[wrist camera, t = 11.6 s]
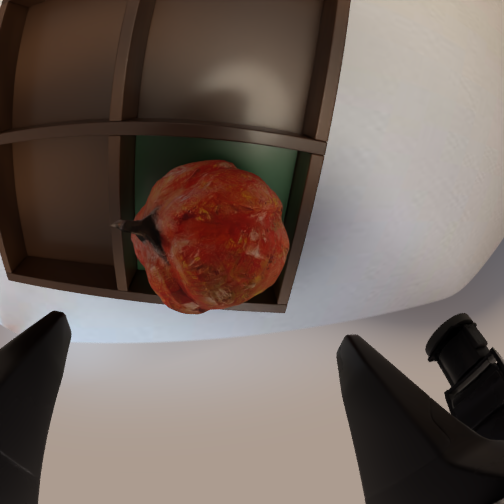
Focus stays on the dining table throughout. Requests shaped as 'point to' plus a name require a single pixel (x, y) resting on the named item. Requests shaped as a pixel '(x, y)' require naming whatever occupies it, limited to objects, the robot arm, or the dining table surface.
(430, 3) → the dining table surface
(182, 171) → the red round fruit
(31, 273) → the four compartment tray
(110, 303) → the dining table surface
